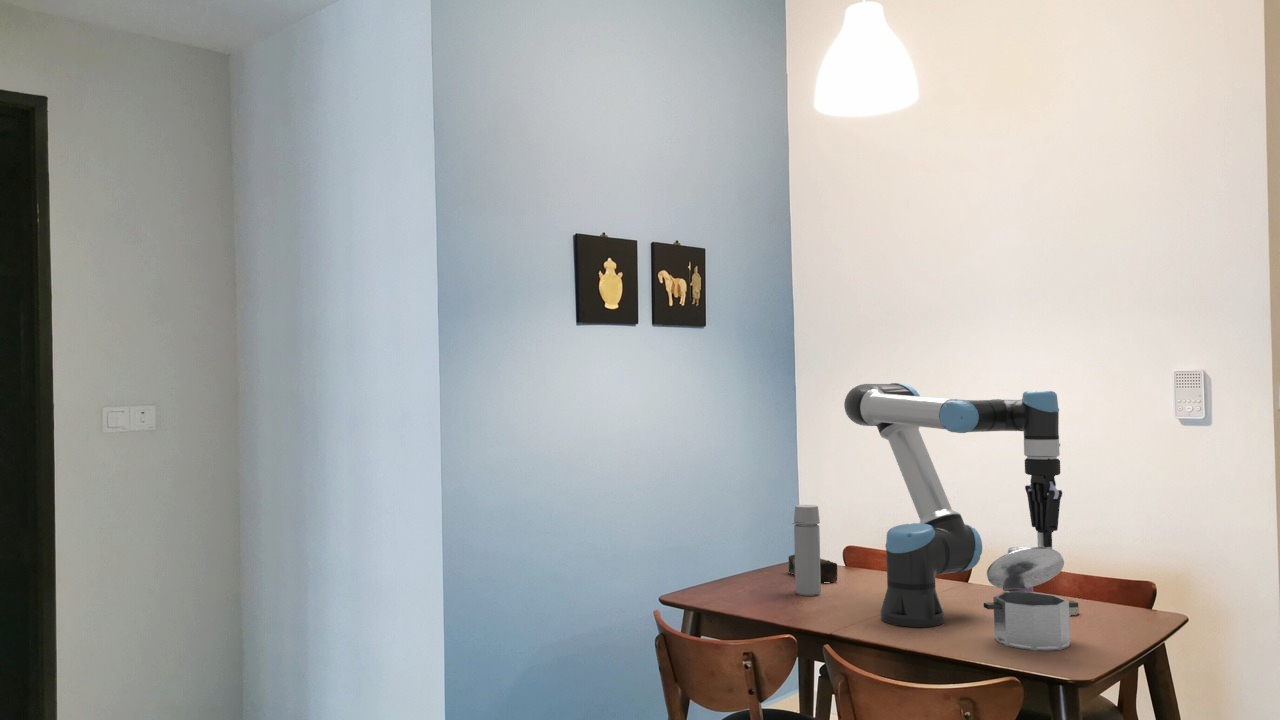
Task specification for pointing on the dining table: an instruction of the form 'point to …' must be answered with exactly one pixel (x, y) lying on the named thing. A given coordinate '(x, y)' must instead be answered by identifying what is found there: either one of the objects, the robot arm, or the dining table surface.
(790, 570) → the beverage carton
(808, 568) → the water bottle
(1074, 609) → the grey block
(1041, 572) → the lid
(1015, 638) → the pot
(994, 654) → the dining table surface
